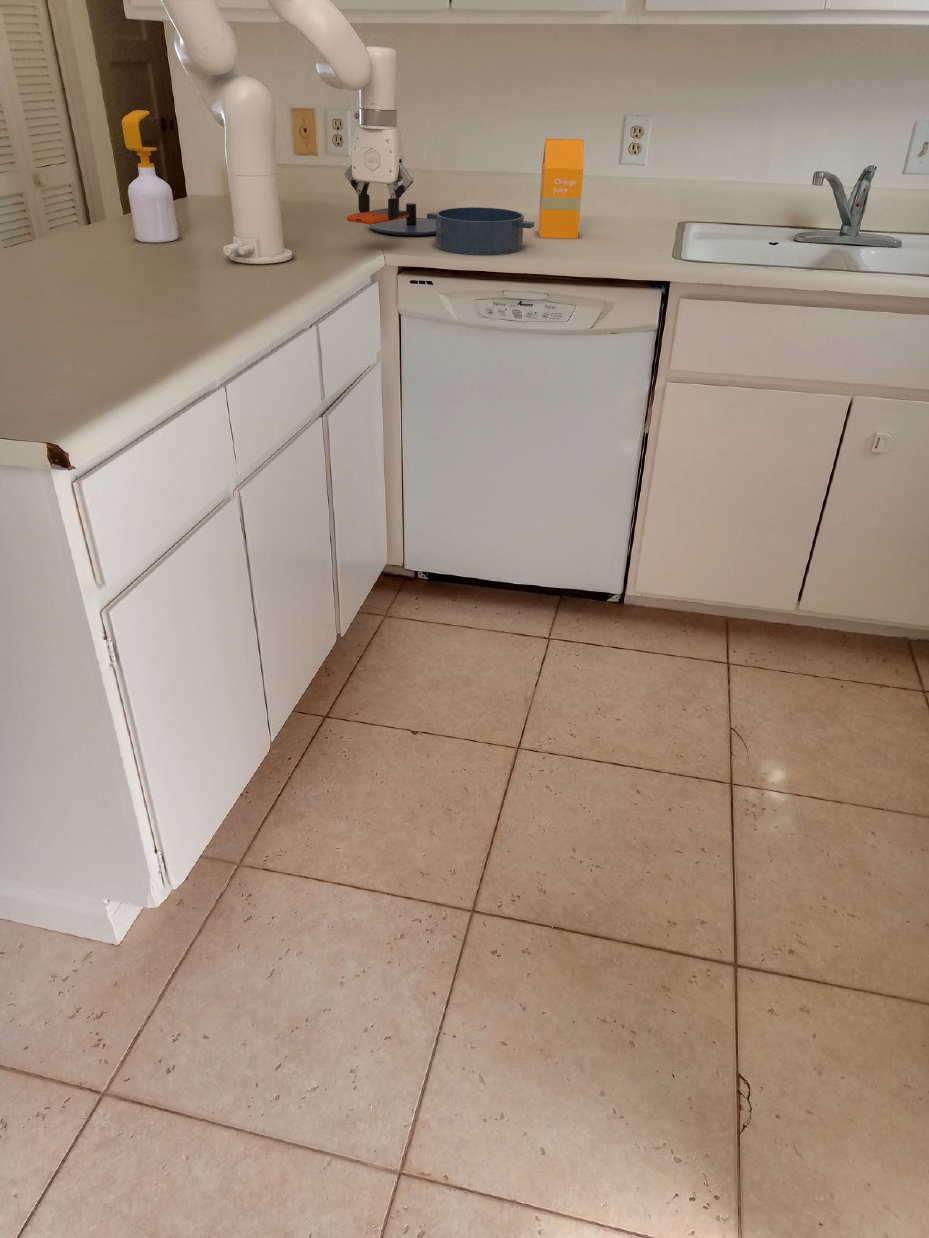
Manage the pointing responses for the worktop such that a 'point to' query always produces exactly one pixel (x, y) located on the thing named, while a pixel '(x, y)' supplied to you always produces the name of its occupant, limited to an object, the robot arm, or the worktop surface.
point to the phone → (375, 216)
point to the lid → (407, 225)
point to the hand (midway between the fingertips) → (378, 216)
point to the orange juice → (561, 188)
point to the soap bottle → (148, 190)
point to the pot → (479, 230)
